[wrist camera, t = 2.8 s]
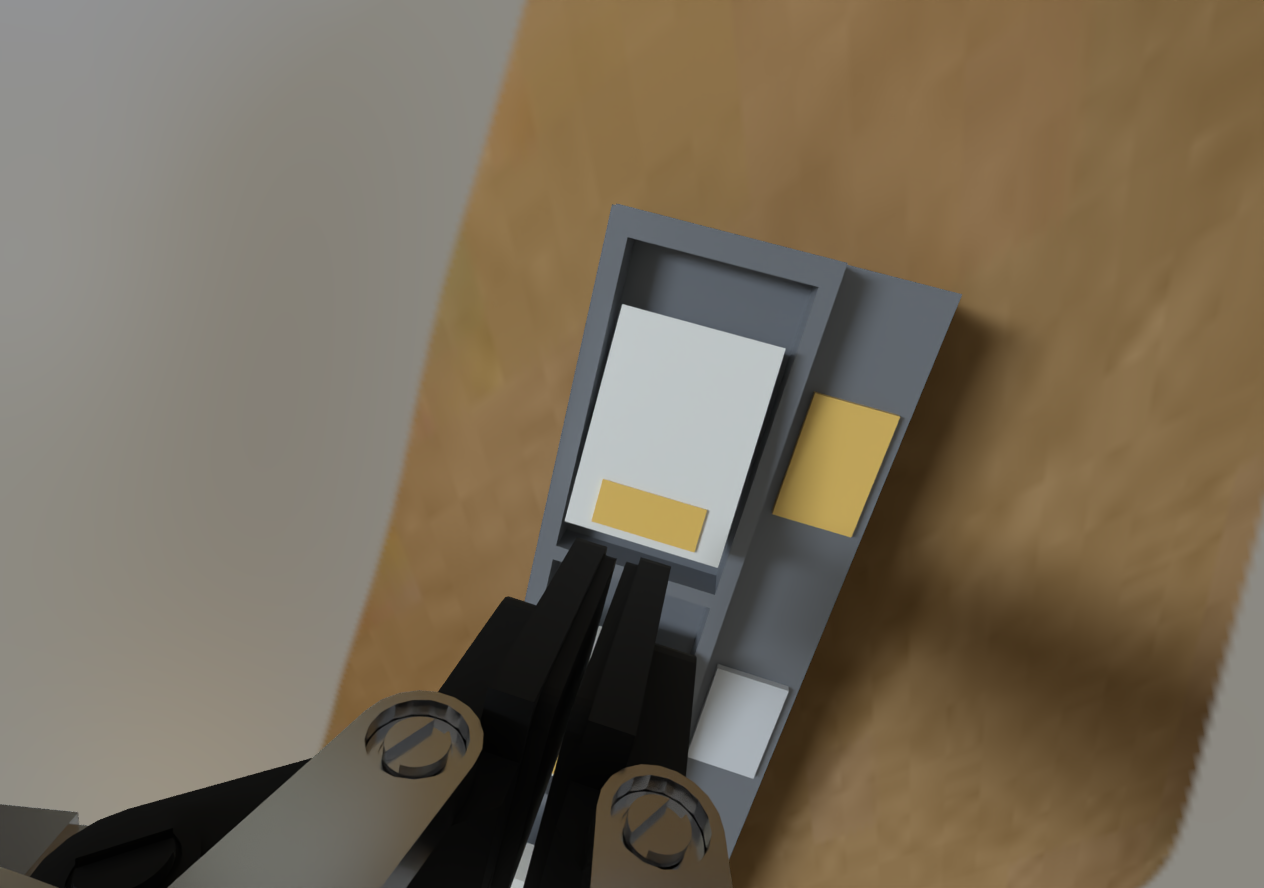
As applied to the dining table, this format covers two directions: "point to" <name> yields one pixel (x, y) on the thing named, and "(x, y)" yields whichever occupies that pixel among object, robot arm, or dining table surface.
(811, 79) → the dining table surface
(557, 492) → the switch unit
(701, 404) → the plate
